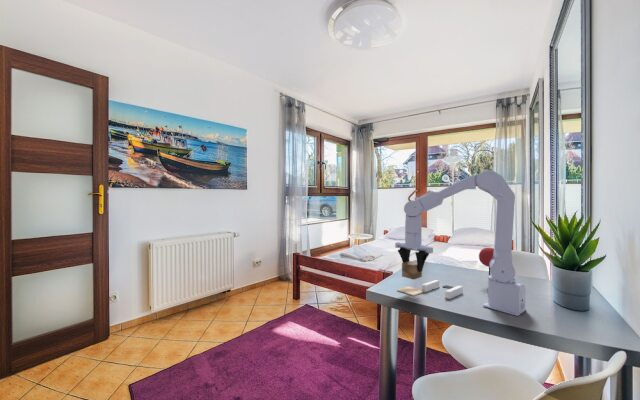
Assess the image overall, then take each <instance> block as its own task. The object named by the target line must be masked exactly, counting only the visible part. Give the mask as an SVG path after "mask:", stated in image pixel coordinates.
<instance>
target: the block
mask: <svg viewBox="0 0 640 400" xmlns="http://www.w3.org/2000/svg"><path fill="white" fill-rule="evenodd" d="M422 272H423V270H422V271H421V272H418V271H417V261H412V260H409V261H407V262H404V263H403V262H401V277H403V278H407V279H411V280H417V279H420V278H422V277H423V273H422Z"/></svg>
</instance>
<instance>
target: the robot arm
mask: <svg viewBox="0 0 640 400" xmlns="http://www.w3.org/2000/svg"><path fill="white" fill-rule="evenodd" d="M476 187H477V188H478V189H479V190H481V191H483V192H485V193H487V194H489V195H490V196H491V197H493V198H494V199H495V200H496V211H495V212H496V214H495V228H494V229H495V230H494V244H493V246H494V247H493V249H494V252H493V258H492V259H491V260H490V263H489V267H490V275H489V274H488V277H487V278H488V279H487V281H488V282H487V284H488V285H487V287H488V289H487V292H488V293H487V299H488V301H487V302H485V303H484V304H482V307H486V308H488V309H492V310H495V311H498V312H502V313H506V314H508V315H513V316H517V317H518V316H520V315H521V314H522V313H524V312H525V311H526V310H527V308H526V287H525V284H523V283H519V282H517V281H516V279H515V276H516V269H515V268H514V265H513V254H512V253H513V252H512V251H513V249H512V247H513V234H514V233H513V232H514V216H515V203H516V202H515V201H516V194H515V192H514V191H513V190H512V188H511V187H510V185H509V184H508V183H507V182H506V180H505V179H504V177H503V175H501V174H499V173H498V172H496V171H494V170H491V169H485V170H482V171H480V172H479V173H475V174H471V175H470V176H466V177H464V178H463V179H460V180H458V181H456V182H454V183H453V184H450V185H449V186H447V187H445V188H443V189H441V190H440V191H438V190H434V189H432V190H427V191H426V193H424V194H423V195H420V196H419V197H418V196H416V197H414V200H413V199H412V200H409V201H407V202H406V203H405V204H404V207H403V211H404V213H405V222H404V223H405V224H404V225H405V226H404V227H405V229H404V231H405V233H404V242H394V243H395V244H394V245H395V246H394V247H395V248H396V249H398V250H397V252H398V254H399V255H400V259H401V261H402V263H404V262H407V261H410V256H411V255H410V254H411V251H414V253H415V257H416V262H417V271H418V272H421V271H422V272H423V269H424V266H425V262H426V261H427V258H428V257H429V255H430V254H433V253H434V246H433V247H432V246H428V245H424V244H423V245H422V214H423V212H425V213H426V212H428V211H430V210H432V209H435V208H437V207H439V206H441V205H442V204H443V201H444V200H445V199H447V198H449V197H452V196H454V195H457V194H458V193H462V192H463V191H465V190H476V189H477V188H476ZM489 267H488V268H489Z"/></svg>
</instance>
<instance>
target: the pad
mask: <svg viewBox="0 0 640 400" xmlns="http://www.w3.org/2000/svg"><path fill="white" fill-rule="evenodd" d="M396 291H397V292H399V293H403V294H406V295H409V296H411V297H415V296H417V295H420V294H423V292H424V291H422V289H418V288H415V287H412V286H404V287H402V288H398V289H397V290H396ZM424 293H425V292H424Z"/></svg>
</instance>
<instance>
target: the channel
mask: <svg viewBox="0 0 640 400" xmlns="http://www.w3.org/2000/svg"><path fill="white" fill-rule="evenodd" d="M453 287H454V288H451V289H447V290H445V292H444V295H445V296H444V299H448V300H451V299H453V298H456V297H458V296H459V295H462V294H464V287H463V286H462V285H456V286H453ZM438 288H440V280H439V279H435V280H431V281H428V282H425V283H422V284H421V290H422V291H424V293H427V292H429V291H430V292H431V291H433V290H435V289H438ZM432 289H433V290H432Z"/></svg>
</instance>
